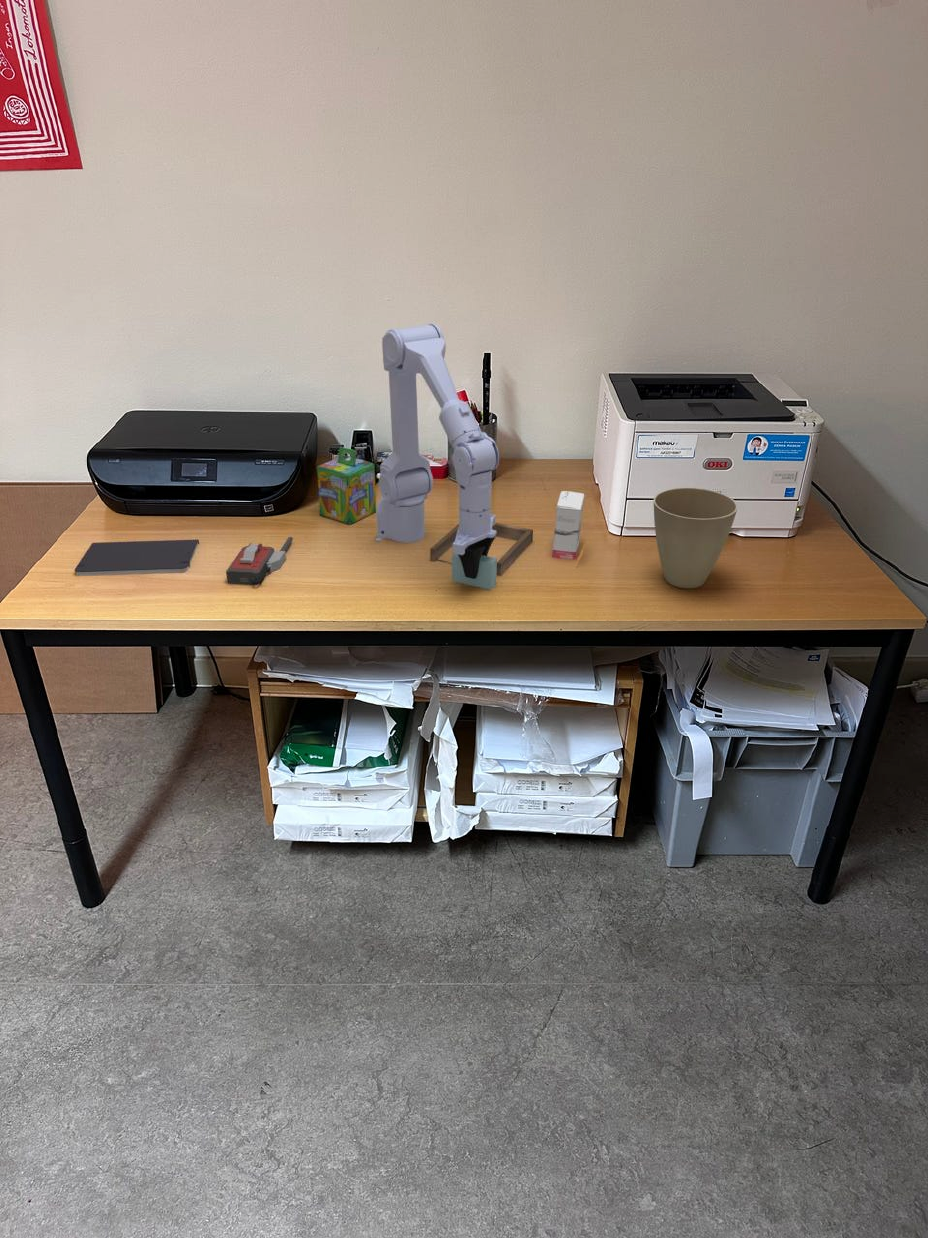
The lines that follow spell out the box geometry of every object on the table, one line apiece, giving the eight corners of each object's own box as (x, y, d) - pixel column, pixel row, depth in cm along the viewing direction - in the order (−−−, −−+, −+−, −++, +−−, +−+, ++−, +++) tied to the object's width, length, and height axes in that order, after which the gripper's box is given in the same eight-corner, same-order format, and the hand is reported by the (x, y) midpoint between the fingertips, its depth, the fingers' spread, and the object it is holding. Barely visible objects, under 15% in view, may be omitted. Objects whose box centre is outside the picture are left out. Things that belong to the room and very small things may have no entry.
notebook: (199, 546, 177) (93, 549, 176) (198, 539, 176) (92, 542, 175) (187, 574, 166) (74, 578, 165) (186, 567, 165) (72, 571, 164)
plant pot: (702, 558, 172) (714, 484, 164) (737, 594, 160) (753, 515, 151) (632, 565, 169) (641, 490, 161) (662, 602, 157) (674, 522, 149)
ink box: (576, 564, 170) (581, 508, 164) (551, 561, 171) (554, 506, 165) (580, 545, 177) (584, 491, 171) (556, 543, 178) (559, 489, 172)
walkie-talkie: (269, 590, 161) (296, 544, 178) (266, 569, 158) (294, 524, 176) (223, 588, 161) (255, 542, 178) (220, 567, 159) (252, 522, 176)
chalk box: (319, 515, 189) (313, 451, 182) (346, 502, 196) (342, 439, 188) (350, 526, 185) (346, 460, 177) (378, 512, 191) (375, 448, 184)
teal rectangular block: (452, 583, 162) (452, 555, 159) (457, 578, 164) (457, 549, 160) (491, 592, 159) (491, 563, 156) (496, 586, 161) (497, 558, 158)
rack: (430, 564, 169) (430, 548, 167) (466, 532, 182) (466, 516, 181) (500, 580, 164) (501, 563, 162) (532, 545, 177) (533, 529, 175)
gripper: (478, 525, 146) (477, 595, 153) (511, 495, 157) (508, 561, 164) (441, 518, 148) (442, 587, 155) (476, 489, 160) (475, 554, 167)
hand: (474, 573), depth 160 cm, fingers closed on teal rectangular block, 2 cm apart
